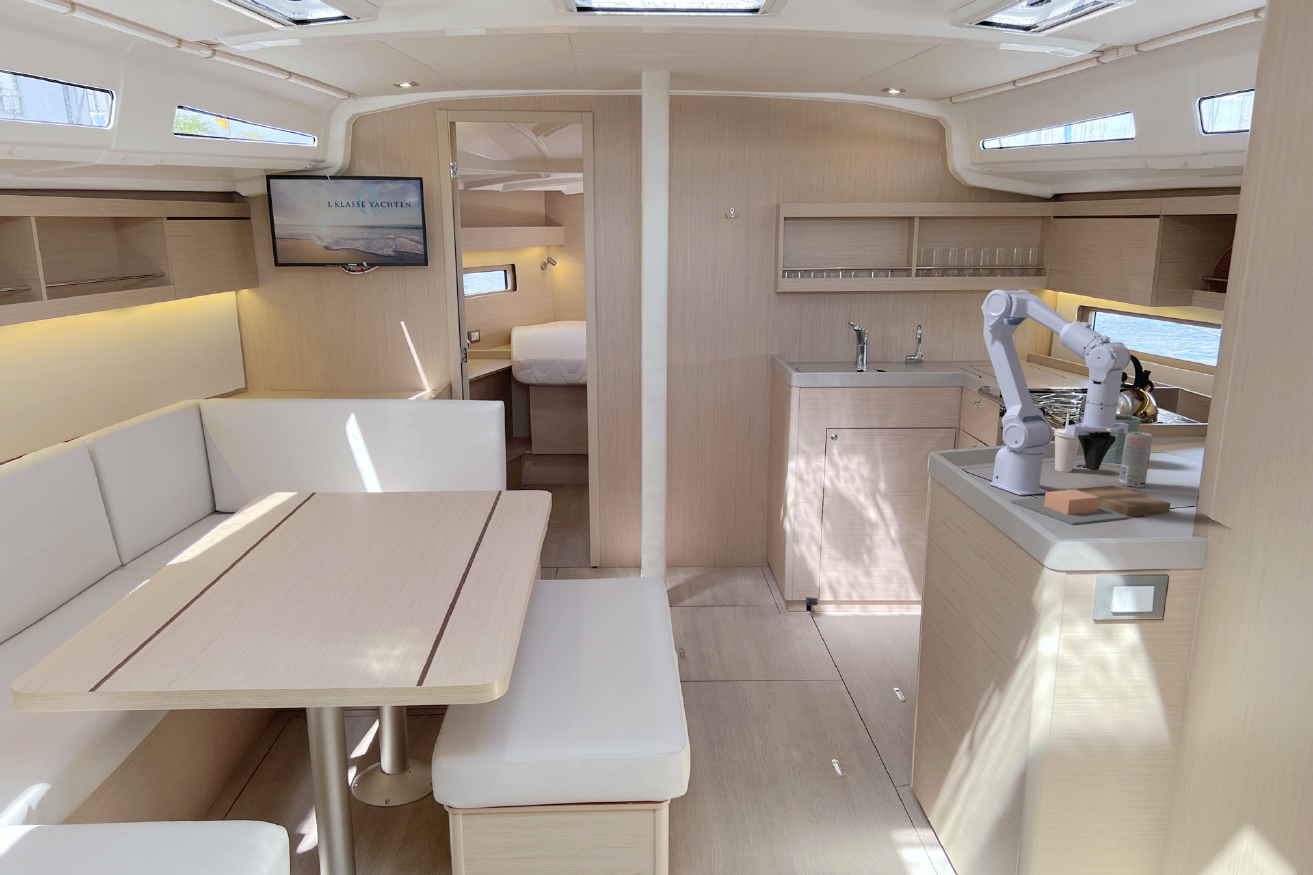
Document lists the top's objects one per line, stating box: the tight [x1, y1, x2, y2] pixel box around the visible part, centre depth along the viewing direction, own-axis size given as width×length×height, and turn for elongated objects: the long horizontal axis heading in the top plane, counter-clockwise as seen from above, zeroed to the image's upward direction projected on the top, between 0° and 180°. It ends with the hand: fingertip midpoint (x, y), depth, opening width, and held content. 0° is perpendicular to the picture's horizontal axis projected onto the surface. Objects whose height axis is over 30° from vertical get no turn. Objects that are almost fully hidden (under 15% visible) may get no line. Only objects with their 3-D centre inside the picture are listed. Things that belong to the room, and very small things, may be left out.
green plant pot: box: [1102, 413, 1141, 464], centre depth 223 cm, size 10×10×12 cm
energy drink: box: [1118, 431, 1153, 488], centre depth 201 cm, size 5×5×12 cm
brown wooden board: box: [1070, 484, 1171, 518], centre depth 185 cm, size 14×12×2 cm
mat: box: [1010, 496, 1130, 526], centre depth 180 cm, size 16×15×1 cm
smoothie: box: [1053, 412, 1081, 473], centre depth 213 cm, size 6×6×14 cm
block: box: [1044, 488, 1099, 515], centre depth 179 cm, size 6×8×3 cm
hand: (1092, 469), depth 180 cm, fingers closed
